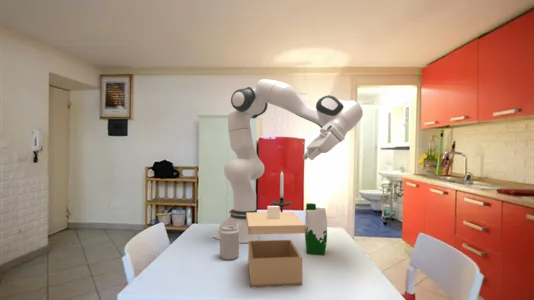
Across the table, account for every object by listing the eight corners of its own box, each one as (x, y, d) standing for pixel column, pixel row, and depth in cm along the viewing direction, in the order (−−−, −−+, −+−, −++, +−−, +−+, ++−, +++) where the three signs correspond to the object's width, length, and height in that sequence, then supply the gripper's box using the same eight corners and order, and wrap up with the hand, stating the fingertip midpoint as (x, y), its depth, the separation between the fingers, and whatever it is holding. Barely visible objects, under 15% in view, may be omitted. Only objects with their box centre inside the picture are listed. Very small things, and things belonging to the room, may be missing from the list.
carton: (250, 287, 82) (251, 259, 82) (248, 264, 100) (248, 240, 100) (302, 285, 84) (302, 257, 84) (290, 262, 102) (290, 239, 102)
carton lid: (248, 234, 81) (248, 212, 82) (246, 219, 101) (246, 201, 101) (306, 233, 83) (306, 212, 84) (292, 218, 103) (292, 201, 103)
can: (241, 255, 109) (242, 225, 109) (233, 261, 102) (234, 230, 102) (225, 252, 112) (225, 223, 112) (216, 259, 104) (216, 228, 105)
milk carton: (305, 247, 119) (306, 202, 119) (326, 249, 117) (326, 203, 117) (304, 254, 110) (304, 205, 111) (327, 256, 108) (327, 206, 109)
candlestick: (285, 231, 144) (286, 166, 144) (268, 228, 149) (268, 165, 150) (294, 227, 153) (294, 165, 154) (277, 224, 159) (278, 165, 159)
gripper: (317, 131, 117) (295, 153, 116) (334, 125, 97) (308, 152, 95) (327, 141, 117) (305, 163, 116) (346, 138, 97) (320, 165, 96)
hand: (306, 158), depth 106 cm, fingers open, 8 cm apart
